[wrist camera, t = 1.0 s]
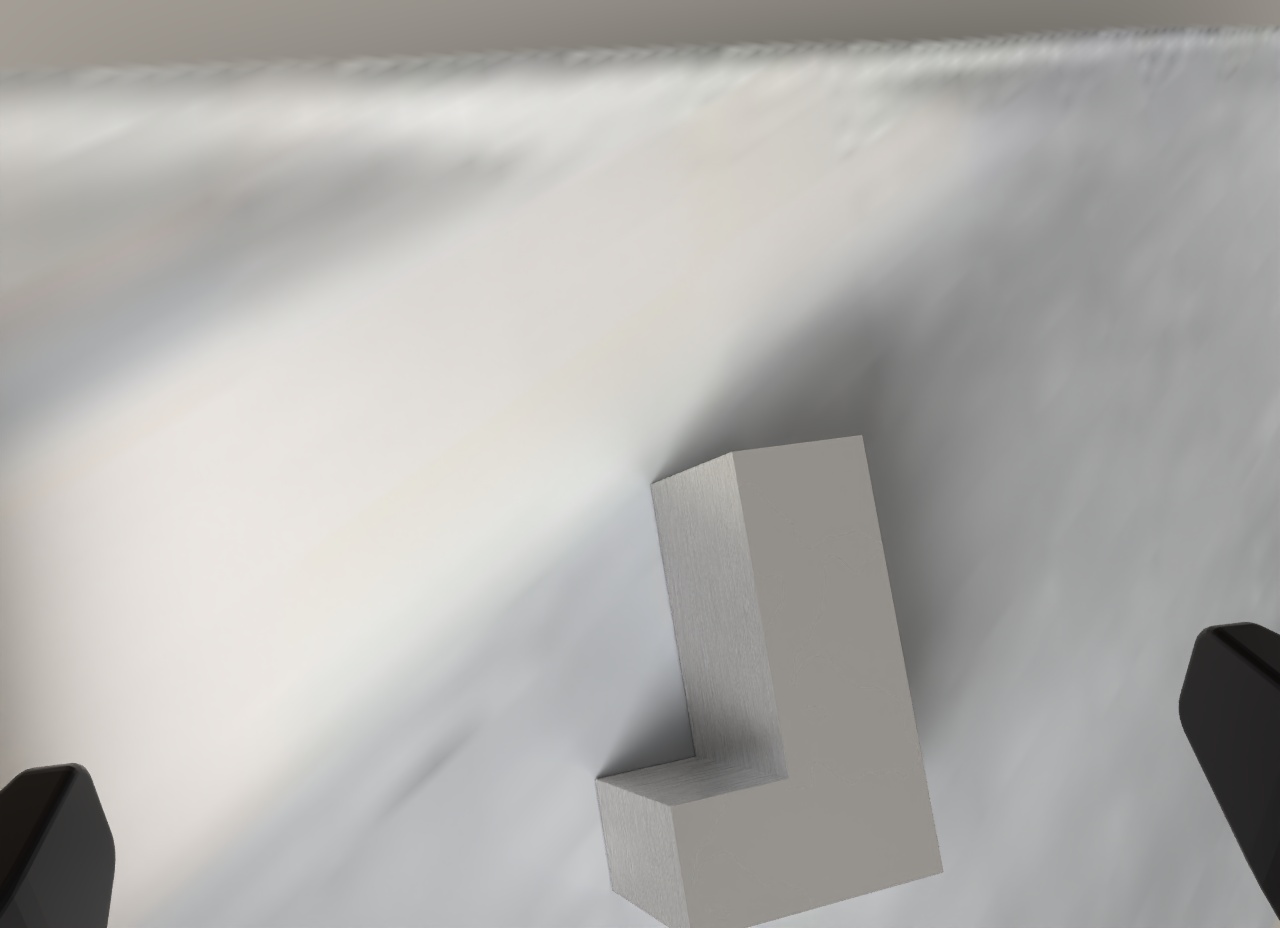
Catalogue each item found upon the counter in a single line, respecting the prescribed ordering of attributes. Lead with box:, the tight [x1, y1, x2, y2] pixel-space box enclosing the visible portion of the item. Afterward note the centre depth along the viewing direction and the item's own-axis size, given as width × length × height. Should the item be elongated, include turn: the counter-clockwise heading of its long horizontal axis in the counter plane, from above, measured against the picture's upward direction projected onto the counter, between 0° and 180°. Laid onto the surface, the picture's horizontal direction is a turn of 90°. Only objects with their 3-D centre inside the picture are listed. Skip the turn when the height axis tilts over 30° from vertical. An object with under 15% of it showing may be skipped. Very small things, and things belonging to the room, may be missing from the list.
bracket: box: [595, 435, 943, 928], centre depth 25 cm, size 9×6×5 cm, turn 10°
